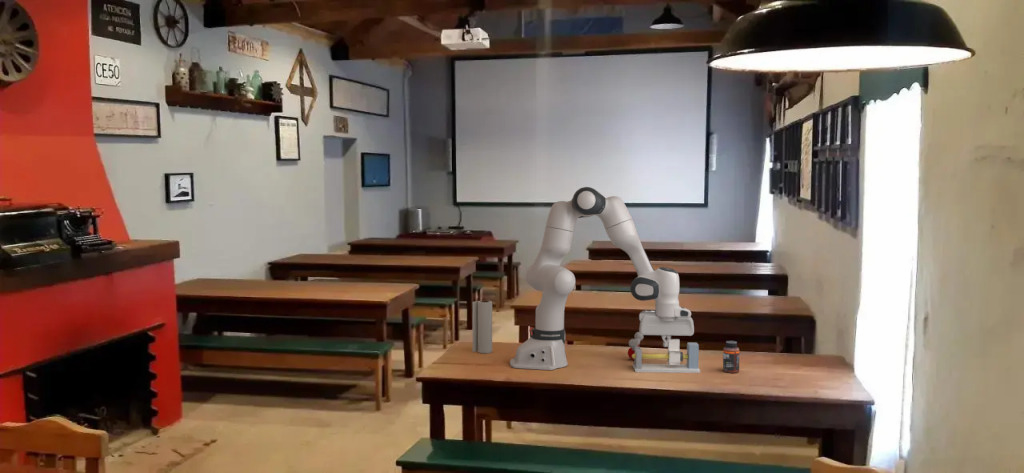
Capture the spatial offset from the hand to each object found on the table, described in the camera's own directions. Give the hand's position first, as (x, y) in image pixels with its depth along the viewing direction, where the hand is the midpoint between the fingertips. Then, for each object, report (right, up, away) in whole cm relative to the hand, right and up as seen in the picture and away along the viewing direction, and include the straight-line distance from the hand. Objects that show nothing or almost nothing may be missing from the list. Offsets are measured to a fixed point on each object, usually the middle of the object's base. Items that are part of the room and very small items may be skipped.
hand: (666, 346), depth 299 cm
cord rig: (0, -9, +1) cm, 9 cm away
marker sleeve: (+3, -6, 0) cm, 7 cm away
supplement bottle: (+24, -9, -2) cm, 26 cm away
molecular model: (-9, -8, +16) cm, 20 cm away
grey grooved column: (-70, -7, +29) cm, 76 cm away
